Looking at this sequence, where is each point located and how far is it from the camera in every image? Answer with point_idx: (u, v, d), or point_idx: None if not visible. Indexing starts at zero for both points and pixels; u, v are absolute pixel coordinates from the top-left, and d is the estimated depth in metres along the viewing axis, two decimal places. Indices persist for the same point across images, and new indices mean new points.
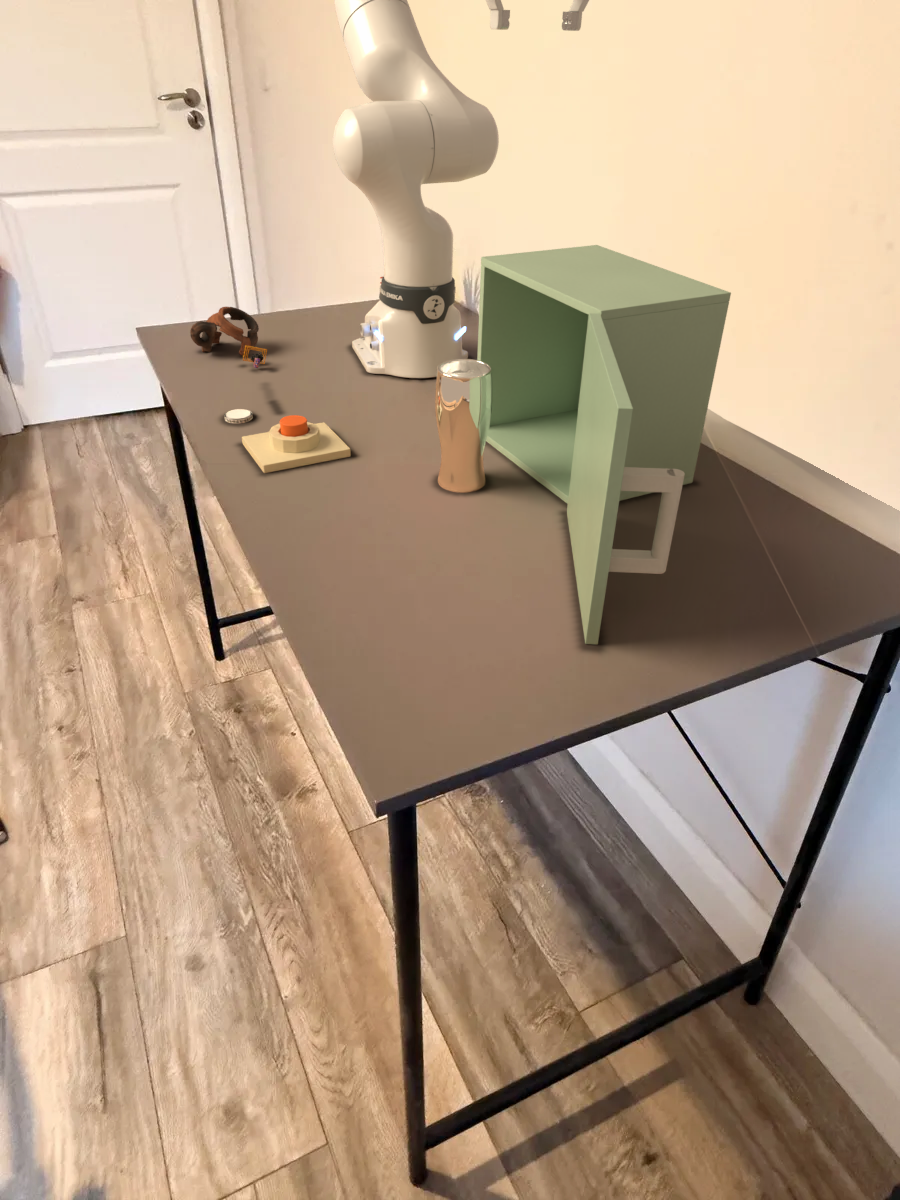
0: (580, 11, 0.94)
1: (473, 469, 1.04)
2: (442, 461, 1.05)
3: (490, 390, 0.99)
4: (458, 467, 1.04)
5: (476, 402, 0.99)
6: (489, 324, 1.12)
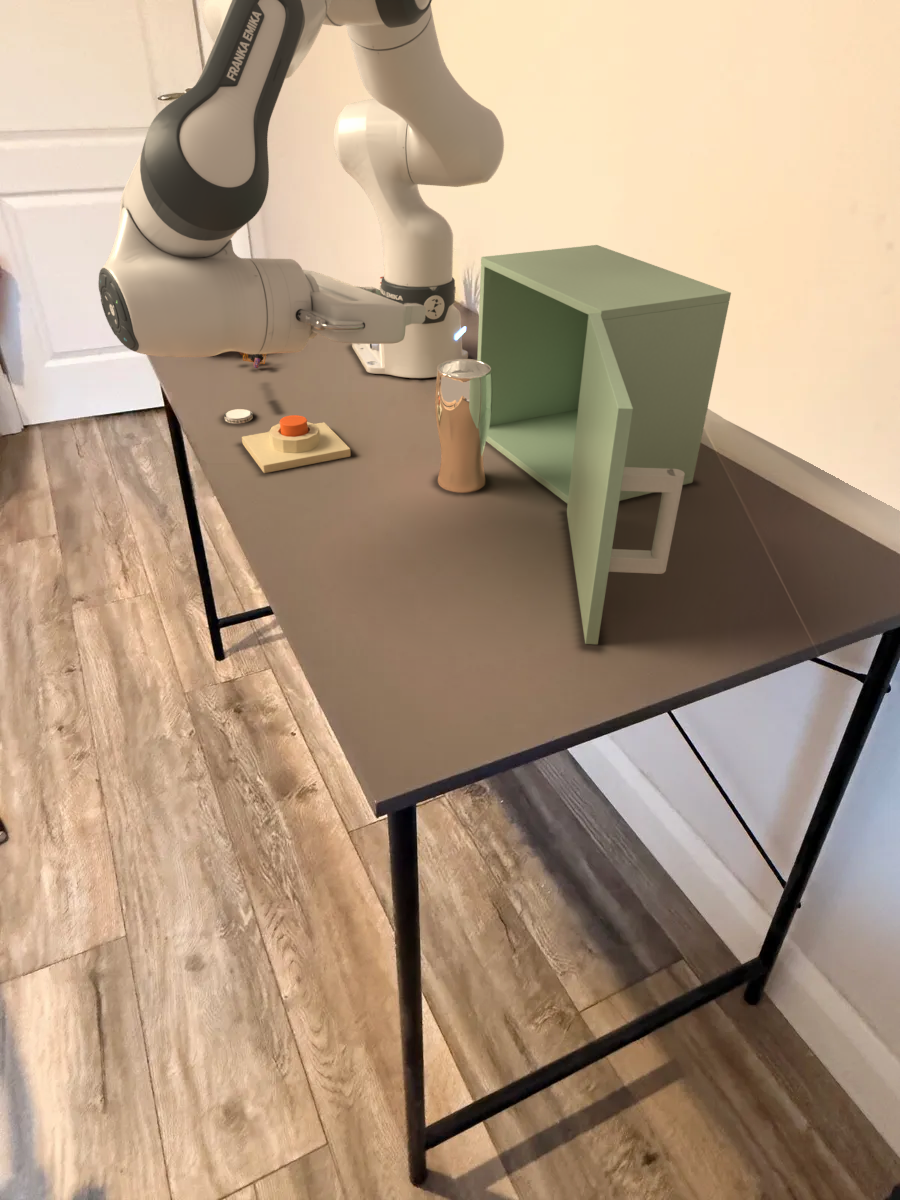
0: None
1: (473, 469, 1.04)
2: (442, 461, 1.05)
3: (490, 390, 0.99)
4: (458, 467, 1.04)
5: (476, 402, 0.99)
6: (489, 324, 1.12)
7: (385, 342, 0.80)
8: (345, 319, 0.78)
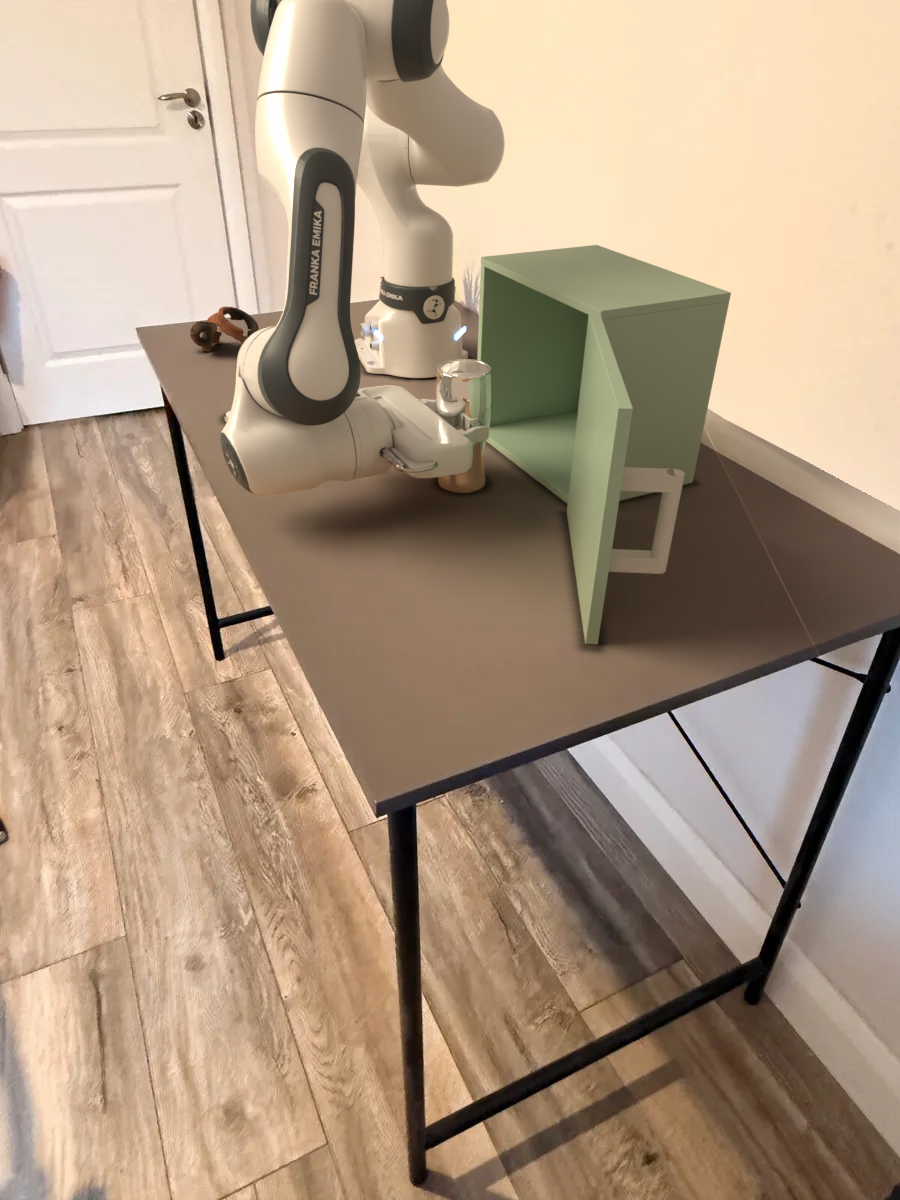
0: None
1: (473, 469, 1.04)
2: None
3: (490, 390, 0.99)
4: None
5: (476, 402, 0.99)
6: (489, 324, 1.12)
7: (455, 474, 0.94)
8: (420, 461, 0.92)
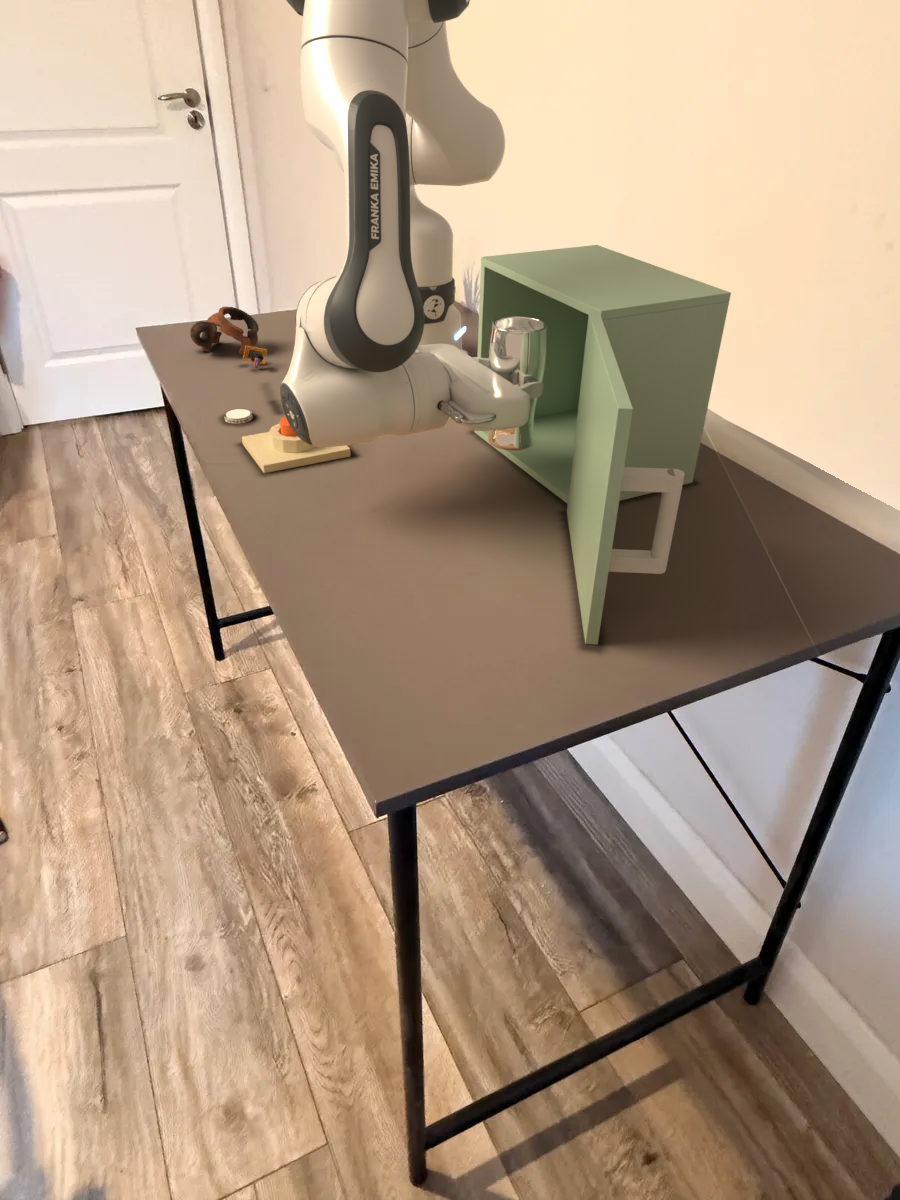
0: None
1: (525, 427, 1.05)
2: None
3: (545, 346, 1.00)
4: None
5: (531, 357, 0.99)
6: (489, 324, 1.12)
7: (512, 427, 0.95)
8: (479, 413, 0.93)
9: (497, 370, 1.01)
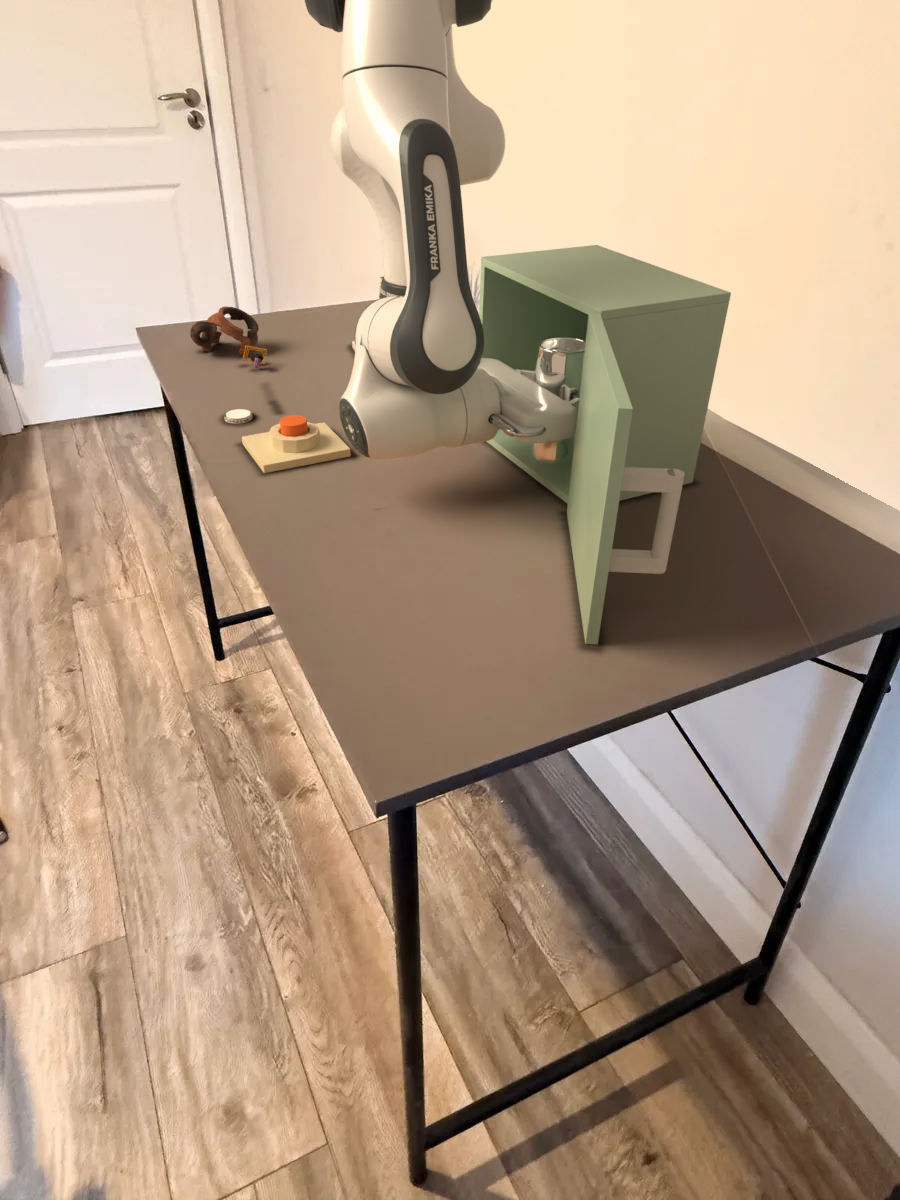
0: None
1: (568, 442, 1.09)
2: None
3: None
4: None
5: (576, 377, 1.03)
6: (489, 324, 1.12)
7: (560, 439, 0.99)
8: (530, 426, 0.97)
9: None
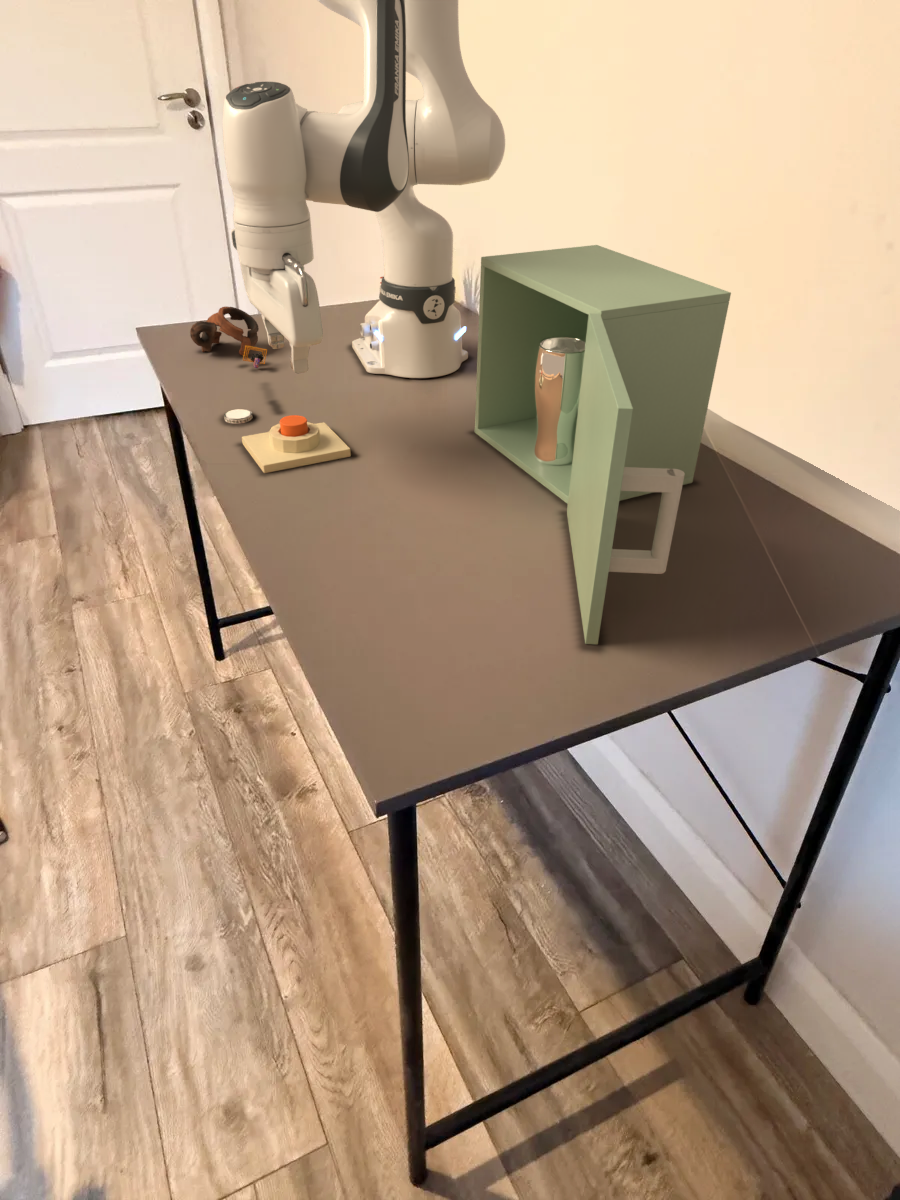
0: (292, 359, 1.03)
1: (568, 442, 1.09)
2: (537, 435, 1.10)
3: None
4: (554, 440, 1.09)
5: (576, 377, 1.03)
6: (489, 324, 1.12)
7: (294, 328, 0.96)
8: None
9: (542, 389, 1.05)
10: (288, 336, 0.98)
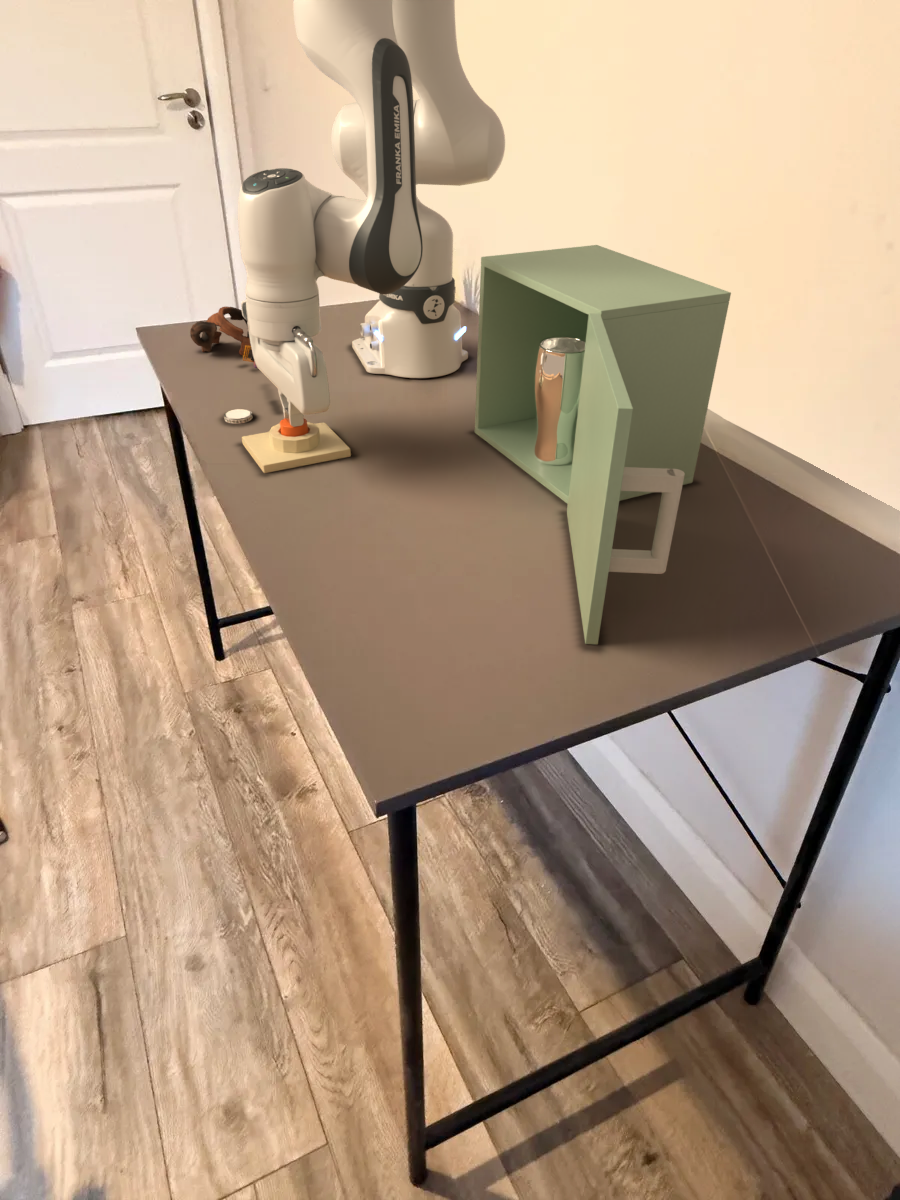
0: (289, 413, 1.10)
1: (568, 442, 1.09)
2: (537, 435, 1.10)
3: None
4: (554, 440, 1.09)
5: (576, 377, 1.03)
6: (489, 324, 1.12)
7: (303, 397, 1.00)
8: None
9: (542, 389, 1.05)
10: (297, 404, 1.03)
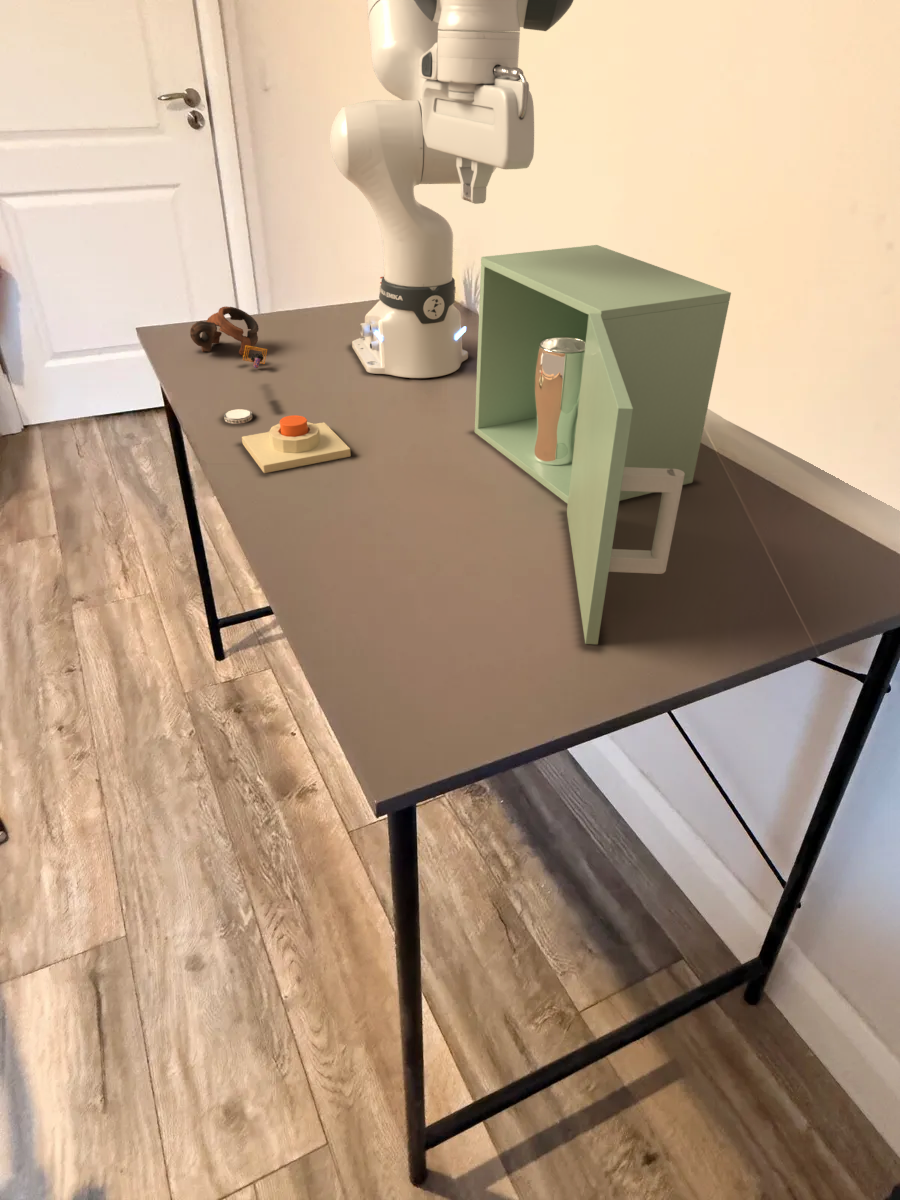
0: (471, 186, 0.97)
1: (568, 442, 1.09)
2: (537, 435, 1.10)
3: None
4: (554, 440, 1.09)
5: (576, 377, 1.03)
6: (489, 324, 1.12)
7: (507, 144, 0.88)
8: None
9: (542, 389, 1.05)
10: (495, 158, 0.90)
